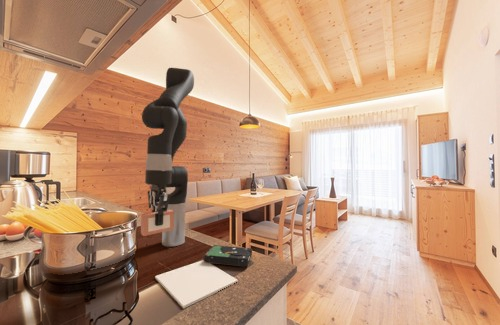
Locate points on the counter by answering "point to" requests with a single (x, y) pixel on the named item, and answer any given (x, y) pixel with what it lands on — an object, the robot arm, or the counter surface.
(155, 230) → the deck box
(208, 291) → the mat
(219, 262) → the disk drive
